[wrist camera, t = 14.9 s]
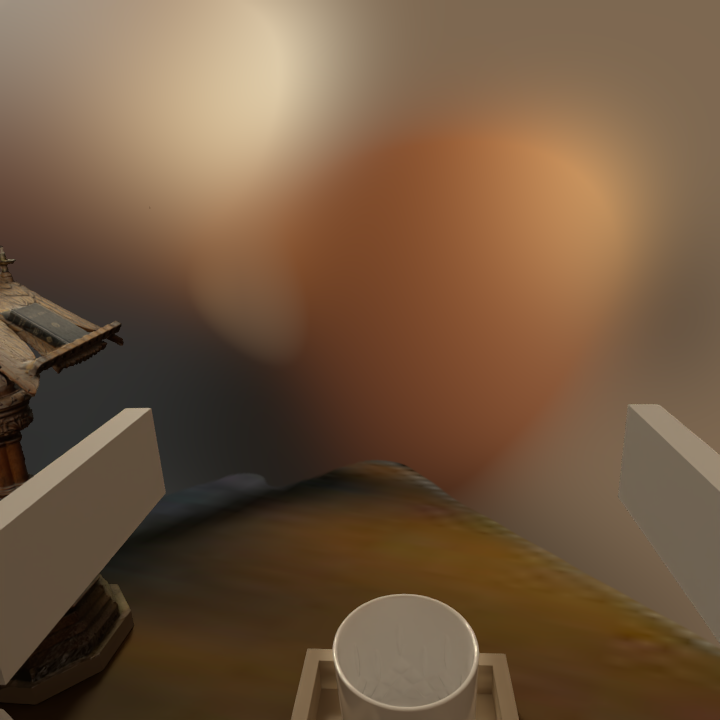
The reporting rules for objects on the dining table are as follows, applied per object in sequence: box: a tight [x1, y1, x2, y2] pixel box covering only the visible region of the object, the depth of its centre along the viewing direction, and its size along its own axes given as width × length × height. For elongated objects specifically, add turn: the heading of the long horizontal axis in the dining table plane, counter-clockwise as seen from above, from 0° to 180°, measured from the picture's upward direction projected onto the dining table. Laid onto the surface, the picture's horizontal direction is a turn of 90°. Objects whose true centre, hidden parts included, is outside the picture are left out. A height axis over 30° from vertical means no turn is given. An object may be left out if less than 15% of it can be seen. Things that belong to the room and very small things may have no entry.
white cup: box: [333, 594, 479, 720], centre depth 30 cm, size 8×8×10 cm
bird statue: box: [0, 246, 134, 705], centre depth 41 cm, size 17×13×35 cm
